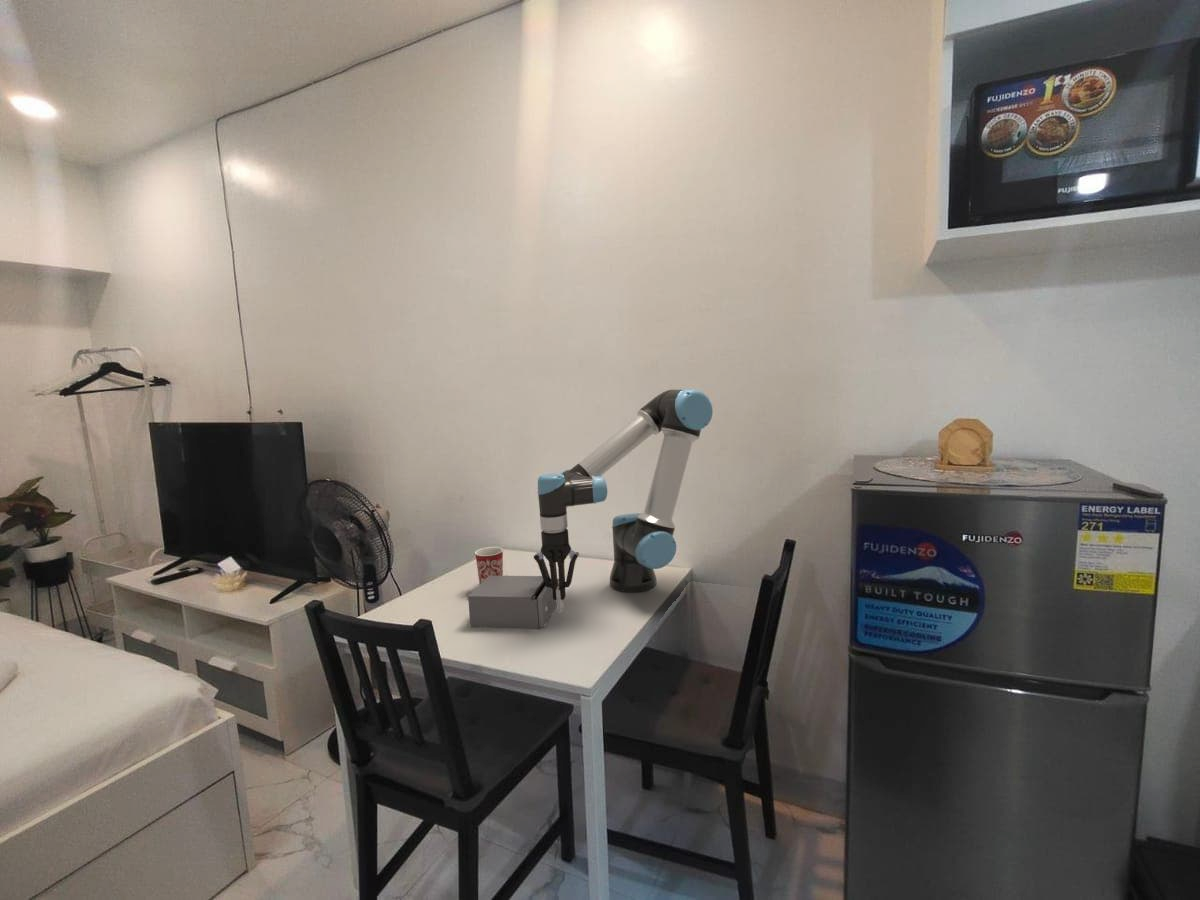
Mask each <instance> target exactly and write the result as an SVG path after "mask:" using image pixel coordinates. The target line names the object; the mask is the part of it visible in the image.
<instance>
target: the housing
mask: <svg viewBox="0 0 1200 900" xmlns="http://www.w3.org/2000/svg"><path fill="white" fill-rule="evenodd" d="M544 587H545V583H544V580H543V577H542V575H503V576H488V577H487V578H486V579H485V580H484V581H483V582H482V583H481V584H479V585H478V586H477V587H475V588H474V590H473V591H472V592H471V593H469V595H468V596H467V600H468V612H469V613H468V614H469V623H470V625H469V626H470V628H482V629H483V628H484V629H516V630H517V629H520V630H525V629H527V630H539V629H540V628H541V627H539V616H538V600H537V598H538V596H539V595H540V593H541V592H542V590H543V589H544ZM535 595H536V599H533V598H534V596H535Z"/></svg>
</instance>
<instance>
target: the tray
mask: <svg viewBox="0 0 1200 900" xmlns="http://www.w3.org/2000/svg"><path fill="white" fill-rule="evenodd" d="M537 600H538V616H539V627H540V628H542V629H543V628H545V626H546V624H547V622H548V620H549V619H550V617H551V615H552V613H553V611H554V610H555V608H557V600H554V599H553V590H552V588H550V587H546V586H545V587H544V589H543V590H542V592H541V593H540V595H539V596H538V598H537Z"/></svg>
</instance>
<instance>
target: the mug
mask: <svg viewBox="0 0 1200 900" xmlns="http://www.w3.org/2000/svg"><path fill="white" fill-rule="evenodd" d="M503 552H504V549H503V548H502V547H499V546H488V547H487V546H486V547H482V548H479V549H477V550H475V552H474V556H475V561H476V569H477V575H478V582H479V585H480V584H481V583H482V582H483V581H484V580H485V579H486V578H487V577H488V576H504V566H503V565H504V554H503Z"/></svg>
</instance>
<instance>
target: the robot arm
mask: <svg viewBox="0 0 1200 900" xmlns="http://www.w3.org/2000/svg"><path fill="white" fill-rule="evenodd" d="M712 416H713V405H712V402H711V401H710V399H709V397H708V396H707V395H706V394H705V393H704V392H702V391H701V390H697V389H692V388H685V389H668V390H666V391H665V390H664V391H663V392H661V393H660V394H658V395H657V396H655V397H654V398H652V399H651V400H650V401H648V403H646V404H645V405H644V406H642V407H641V408H640V409H639V410H637V414H636V416H635V417H634V418H633V419H631V420H630V421H629V422H628V423H627V424H625V425H624V426H623V427H621V428H620V429H619V430H618V431H617V432H616V433H614V434H613V435H612V436H610V437H609V438H608V439H607V440H606V441H604V442H603V443H602V444H601V445H599V446H598V447H597V448H596V449H595V450H593V451H592V452H591V453H589V454H588V455H587V456H586V457H584V458H583V459H582V460H581V461H580V462H578V463H577V464H576V465H574V466H573V467H572V468H570V469H566V470H563V471H560V473H546V474H545V473H544V474H542V475H540V476H539V477H538V478H537V494H538V497H537V498H538V507H539V521H540V522H539V523H540V530H542V531H541V532H540V534H541V535H540V537H541V548H540V551H539V552H536V553H535V555H533V559H534V561H536V563H537V566H538V568H539V571H540V573H541V576H542V577H543V580H544V583H545V586H546V587H550V588H552V590H553V599H554V600H556V602H557V605H556V609H557V610H556V611H557V613H562V612H563V609H564V600H565V599H566V597H567V595H566V588H569V587H570V585H571V584H572V581H573V576H574V572H575V570H574V569H575V565H576V561H577V559H578V558H579V556H580V553H579V552H578V551H576V552H575V551H574V550H572V547H571V545H570V540H569V539H570V538H569V529H567V528H568V512H567V511H568V510H567V508H569V507H574V506H575V507H576V506H582V505H590V504H598V503H601V502H603V503H604V501H606V499H607V497H608V485H607V484H608V483H607V481H606V479H605V478H604V477H603V475H604V474H605V473H607V472H608V471H609V470H610V469H612V468H613V467H615V465H616V464H617V463H619V462H621V460H623V458H625V457H626V456H627V455H629V454H630V453H631V452H632V451H634V450H635V449H636V448H638V446H640V445H641V444H642V443H644V441H646V440H647V439H648V438H650V437H651V436H652V435H658V434H659V433H660V432H662V434H663V440H662V443H661V446H660V447H661V448H660V450H659V454H658V457H657V458H658V459H657V462H656V465H655V469H654V472H653V473H654V474H653V477H652V481H651V483H650V489H649V492H648V496H647V499H646V504H645V507H644V511H643V512H636V513H635V512H634V513H626V514H619V515H616V516H614V517H613V519H612V526H611V528H612V546H613V547H612V548H613V559H614V560H613V564H612V569H611V572H610V575H609V586H610V587H611V588H612V589H614V590H617V591H620V592H625V593H637V592H644V591H648V590H650V589H653V588H654V587H655V586H656V584H657V576H656V573H655V570H658V569H662V568H665V567H666V566H667V565H669V564H670V562H672V561H673V560H674V558H675V555H676V552H677V542H676V541H675V540H676V539H675V538H674V537H673V536H674V532H675V528H676V525H675V524H674V522H673V516H674V514H675V513H674V512H675V509H676V505H677V502H678V497H679V494H680V489H681V487H682V483H683V479H684V476H685V471H686V468H687V465H688V464H687V463H688V460H689V456H690V452H691V449H692V445H693V443H694V442H695V441H697V440H699V438H700V435H701V431H702V430H703V429H704V428H705V427H706V426H708V425H709V424H710V422H711V420H712V418H713V417H712ZM568 556H569V559H570V561H569V564H568V569H567V573H566V572H565V560H566V559H567V558H568ZM544 557H545V559H546V560H547V561H548V566H549V570H548V568H547V564H546V561H545V559H544ZM557 570H558V572H557ZM549 571H550V573H549ZM566 574H567V575H566ZM557 579H559V586H558V580H557Z"/></svg>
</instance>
